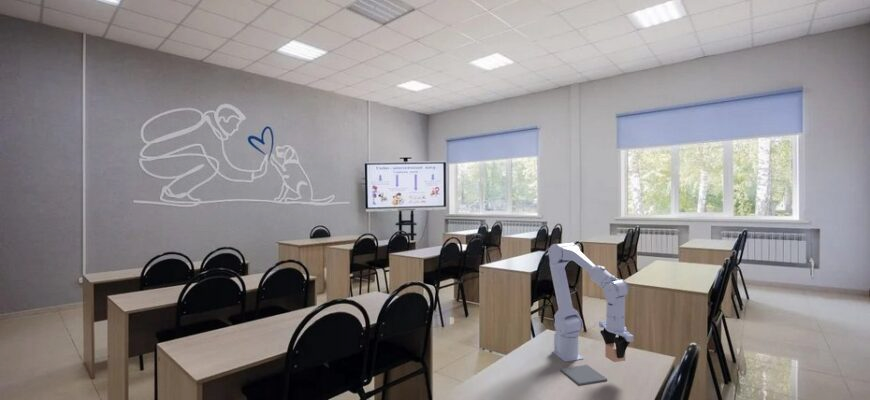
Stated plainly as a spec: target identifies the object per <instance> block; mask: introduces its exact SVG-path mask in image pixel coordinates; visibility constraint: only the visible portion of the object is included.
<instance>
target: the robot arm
mask: <svg viewBox="0 0 870 400" xmlns="http://www.w3.org/2000/svg"><path fill="white" fill-rule="evenodd" d="M547 253H548V259H549V269H550V274H551V279H552V284H553V289H554V293H555V298H556V303H557V308H558V310H557V311H556V312H555V314H554V315H553V316H554V317H553V318H554V325H553V326H554V328H555V333H554V336H553V344H554V346H553V350H552V351H551V352H552V353H553V354H554V355H556V356H557V357H558V358H559V359H561V360H562V361H564V362H572V361H579V360H584V357H583V356H581V355H580V354H579V335H580V332H581V331H582V330H583V327H584V323H583V319H582V318H581V316H580V314H579V311H578V310H577V309H576V308H574V306H573V301H572V297H571V292H570V287H569V283H568V282H569V281H568V277H567V272H566V266H567V264H568V263H569V262H571V261H573V262H575V264H577V265H578V266H580V267H581V268H582V269H583V270H585V271H586V272H588V275H589V276H588V277H589V278H590V279H591V281H593V282H594V283H595V284H597V285H598V286H599V287H600V288H601V289H602V293H603V294H604V296H605V302H606V320H599V321H598V327H600V328H603V330H602V329H601V330H600V331H599V333H600V335H601V337H602V339H603V340H604V344H611V343H615V345H616V354H617V358H623V357H624V354H625V355H626V350H627V348H628V346H629V344H630V343H631V342H634V335H633V334H631V333H630V332H629V331H628V327H626V325H625V323H626V322H625V321H626V296H628V294H629V292H630V291H629V290H630V288H629V285H628V283H627V282H626V281H625V280H624V279H622V278H617V277H616V275H612V274H611V273H610V272H609V271H608V270H606V267H605V266H603V265H596V264H594V262H592V260H590V259H589V258H588V257H587V256H586V255H585V254H584V253H583V252H582V251H581V250H580V246H578V245H576V244H575V243H574V242H572V241H570V242H565V243H553V244H551V245H550V247H549V249H547Z"/></svg>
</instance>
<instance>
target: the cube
mask: <svg viewBox="0 0 870 400" xmlns="http://www.w3.org/2000/svg"><path fill="white" fill-rule="evenodd" d="M604 344H605V343H604ZM604 347H605V348H604V349H605V353H604V356H605V358H607V359H609V360H610V361H612V362H613V363H619V362H624V361H626V353H625V354H624V357H623V358H617V354H616V345H615V343H611V344H605V346H604Z"/></svg>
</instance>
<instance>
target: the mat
mask: <svg viewBox="0 0 870 400" xmlns="http://www.w3.org/2000/svg"><path fill="white" fill-rule="evenodd" d="M560 371H561V372H562V373H563V374H564V375H566V376H567V377H568V378H570V379H571V380H572V381H573V382H574V383H576V384H577V385H578V386H584V385H588V384H596V383H600V382H607V381H608V378H607V377H605V376H604V375H602V374H601V373H600V372H598V371H597V370H595V369H594V368H592V367H591V366H590V365H588V364H583V365H582V364H581V365H576V366H575V365H574V366H570V367H569V366H568V367H563V368H560Z"/></svg>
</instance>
